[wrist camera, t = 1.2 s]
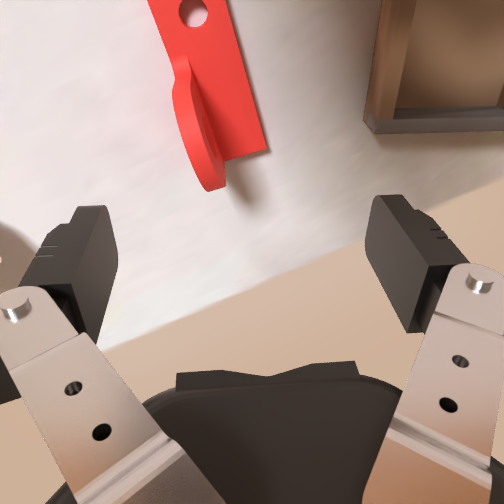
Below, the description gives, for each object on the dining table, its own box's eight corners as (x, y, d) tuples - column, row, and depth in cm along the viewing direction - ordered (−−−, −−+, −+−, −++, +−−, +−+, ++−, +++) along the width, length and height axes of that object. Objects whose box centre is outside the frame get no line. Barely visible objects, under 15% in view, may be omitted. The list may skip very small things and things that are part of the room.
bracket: (265, 142, 32) (279, 189, 26) (210, 160, 33) (210, 210, 26) (214, -39, 25) (216, -36, 19) (144, -14, 26) (123, -3, 19)
